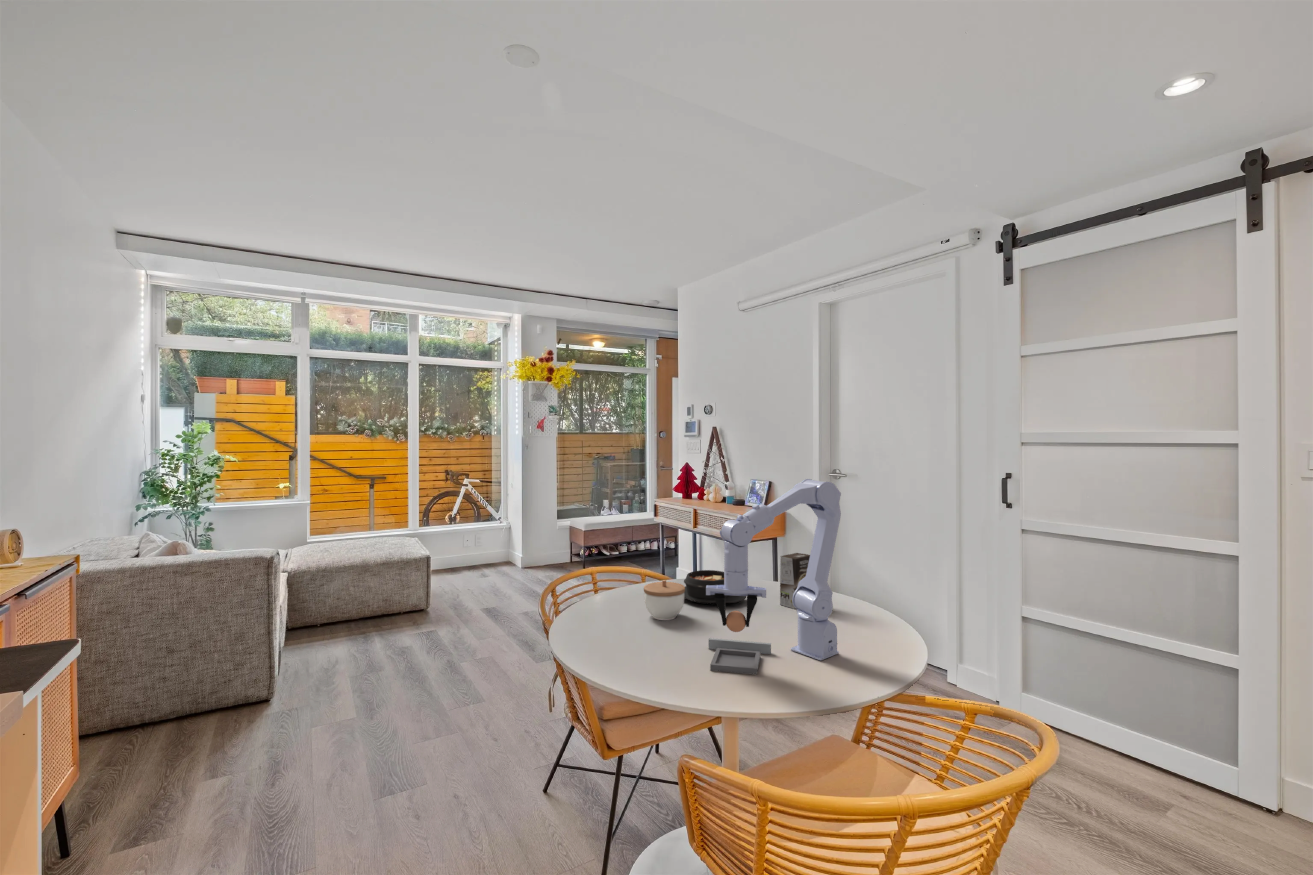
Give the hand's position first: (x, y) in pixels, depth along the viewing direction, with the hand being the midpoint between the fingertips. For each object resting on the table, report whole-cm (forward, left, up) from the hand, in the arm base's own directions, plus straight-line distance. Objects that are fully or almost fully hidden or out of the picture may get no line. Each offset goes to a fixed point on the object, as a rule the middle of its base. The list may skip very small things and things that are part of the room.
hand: (735, 624), depth 146 cm
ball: (0, 0, -2) cm, 2 cm away
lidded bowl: (+39, -10, -10) cm, 41 cm away
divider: (+5, -7, -9) cm, 13 cm away
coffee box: (+21, -51, -10) cm, 56 cm away
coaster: (0, 0, -9) cm, 9 cm away
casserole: (+43, -33, -10) cm, 55 cm away
